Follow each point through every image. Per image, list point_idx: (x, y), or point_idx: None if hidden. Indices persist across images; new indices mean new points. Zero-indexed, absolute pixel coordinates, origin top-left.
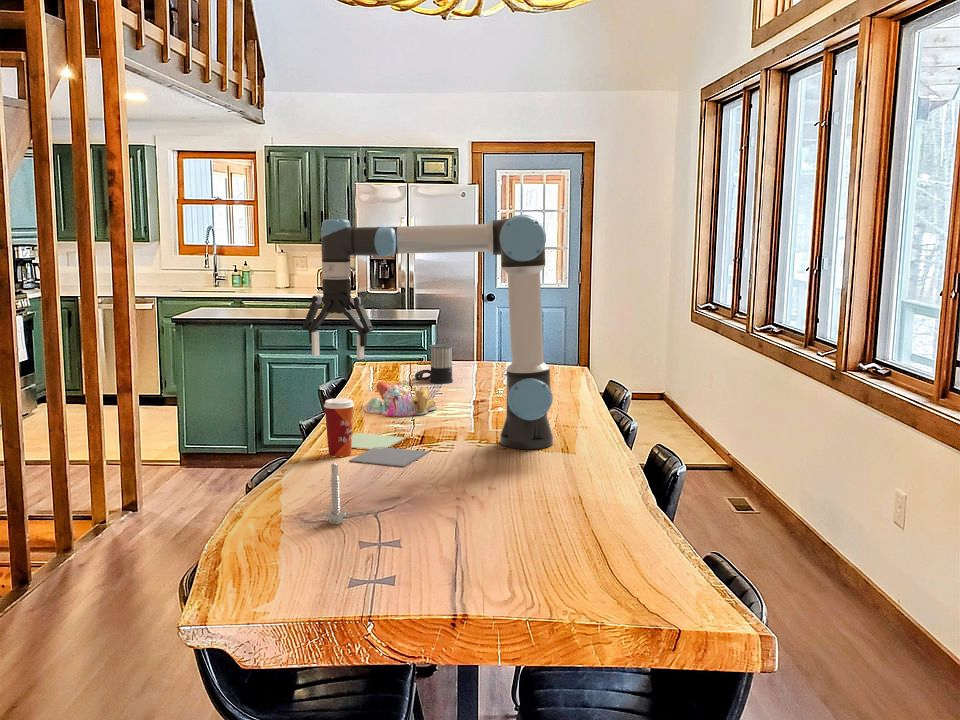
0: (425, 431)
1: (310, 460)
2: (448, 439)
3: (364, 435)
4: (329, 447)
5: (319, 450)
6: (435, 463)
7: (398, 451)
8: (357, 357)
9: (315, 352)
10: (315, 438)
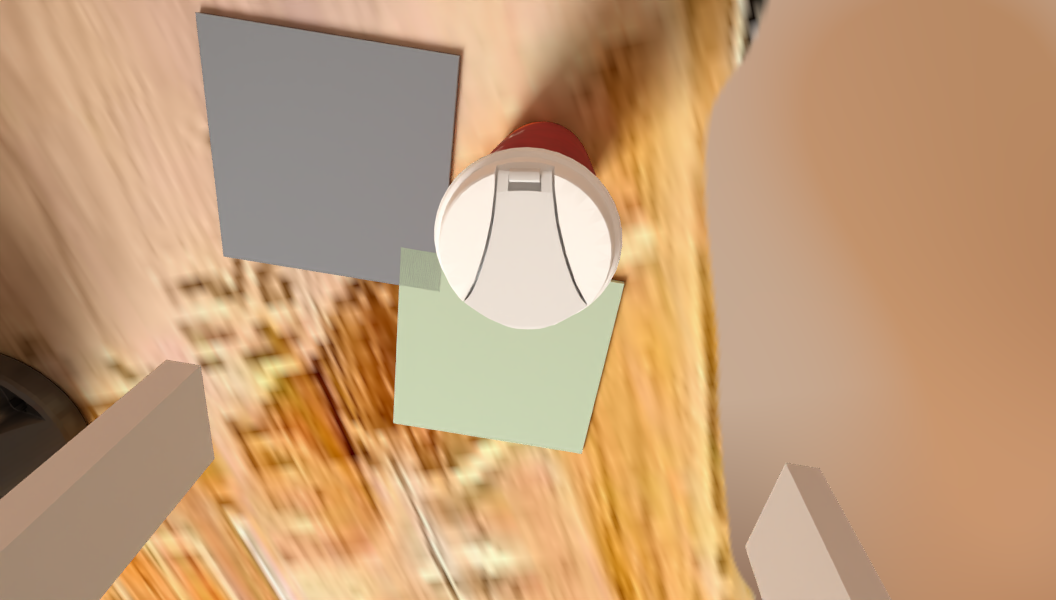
0: (372, 507)
1: (637, 42)
2: (256, 430)
3: (542, 427)
4: (575, 138)
5: (648, 216)
6: (122, 108)
7: (328, 237)
8: (178, 375)
9: (794, 519)
10: (716, 382)
